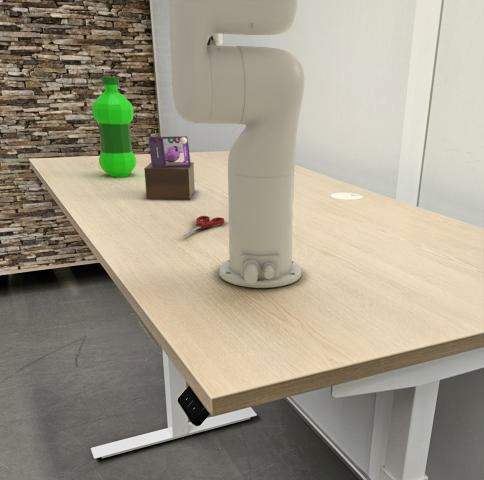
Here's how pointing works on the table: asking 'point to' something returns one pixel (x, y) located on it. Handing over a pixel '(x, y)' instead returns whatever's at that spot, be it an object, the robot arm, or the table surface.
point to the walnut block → (170, 181)
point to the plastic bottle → (114, 129)
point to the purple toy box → (168, 151)
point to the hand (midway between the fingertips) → (208, 76)
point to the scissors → (206, 223)
